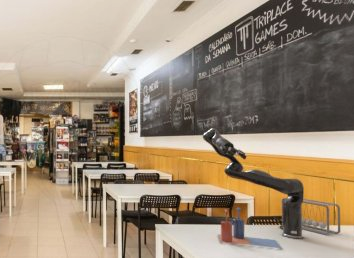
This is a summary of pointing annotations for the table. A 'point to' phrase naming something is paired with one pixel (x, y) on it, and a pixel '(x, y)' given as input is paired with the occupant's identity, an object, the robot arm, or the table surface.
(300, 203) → the robot arm
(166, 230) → the table surface
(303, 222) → the newton's cradle
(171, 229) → the table surface
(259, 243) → the sorting board
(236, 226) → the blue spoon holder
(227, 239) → the terracotta spoon holder
